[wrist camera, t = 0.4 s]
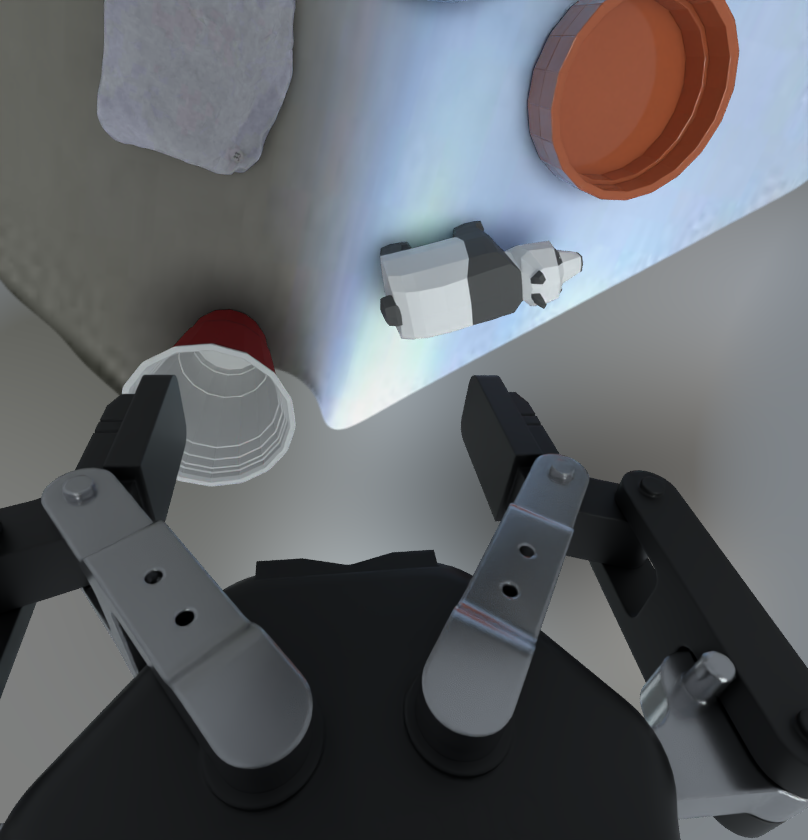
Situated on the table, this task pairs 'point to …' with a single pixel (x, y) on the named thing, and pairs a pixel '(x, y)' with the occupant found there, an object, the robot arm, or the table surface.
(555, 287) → the giant panda
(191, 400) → the plastic cup
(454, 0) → the metal bowl
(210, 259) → the table surface
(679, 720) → the robot arm
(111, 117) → the stone block
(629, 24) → the terracotta bowl
